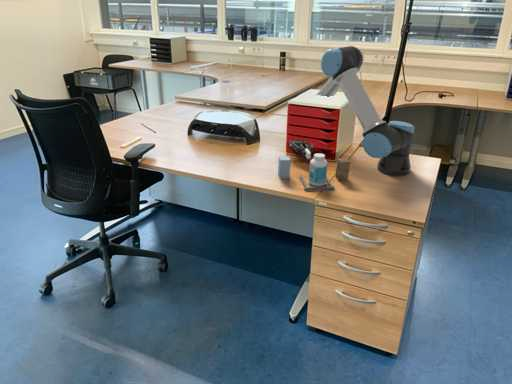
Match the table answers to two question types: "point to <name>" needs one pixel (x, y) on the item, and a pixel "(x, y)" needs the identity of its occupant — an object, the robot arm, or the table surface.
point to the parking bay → (317, 187)
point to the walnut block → (342, 169)
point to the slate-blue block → (284, 167)
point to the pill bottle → (318, 170)
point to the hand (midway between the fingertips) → (309, 156)
